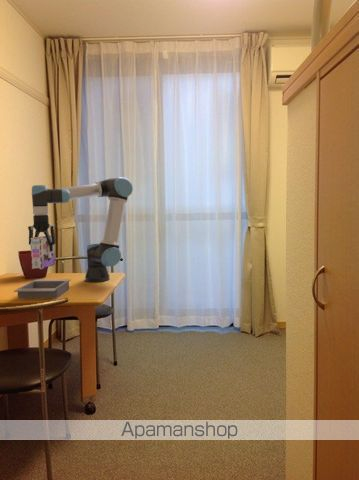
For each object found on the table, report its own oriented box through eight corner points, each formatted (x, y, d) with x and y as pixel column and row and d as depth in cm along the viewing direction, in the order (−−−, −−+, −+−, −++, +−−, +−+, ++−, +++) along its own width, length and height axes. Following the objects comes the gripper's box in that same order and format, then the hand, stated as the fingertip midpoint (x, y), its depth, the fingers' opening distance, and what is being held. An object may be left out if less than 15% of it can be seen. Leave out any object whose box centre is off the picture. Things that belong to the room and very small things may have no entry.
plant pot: (19, 275, 255) (18, 250, 254) (48, 272, 263) (47, 249, 261) (19, 280, 238) (18, 254, 236) (51, 277, 246) (50, 252, 244)
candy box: (41, 269, 193) (39, 237, 192) (31, 269, 195) (29, 237, 193) (55, 264, 207) (53, 235, 205) (46, 264, 208) (44, 235, 206)
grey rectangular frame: (71, 287, 215) (70, 279, 215) (54, 300, 188) (53, 290, 188) (36, 287, 216) (35, 279, 215) (14, 300, 189) (13, 290, 188)
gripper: (61, 214, 201) (63, 256, 204) (25, 214, 202) (28, 257, 204) (56, 214, 194) (58, 258, 196) (19, 215, 194) (22, 259, 197)
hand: (43, 257), depth 200 cm, fingers closed on candy box, 6 cm apart
